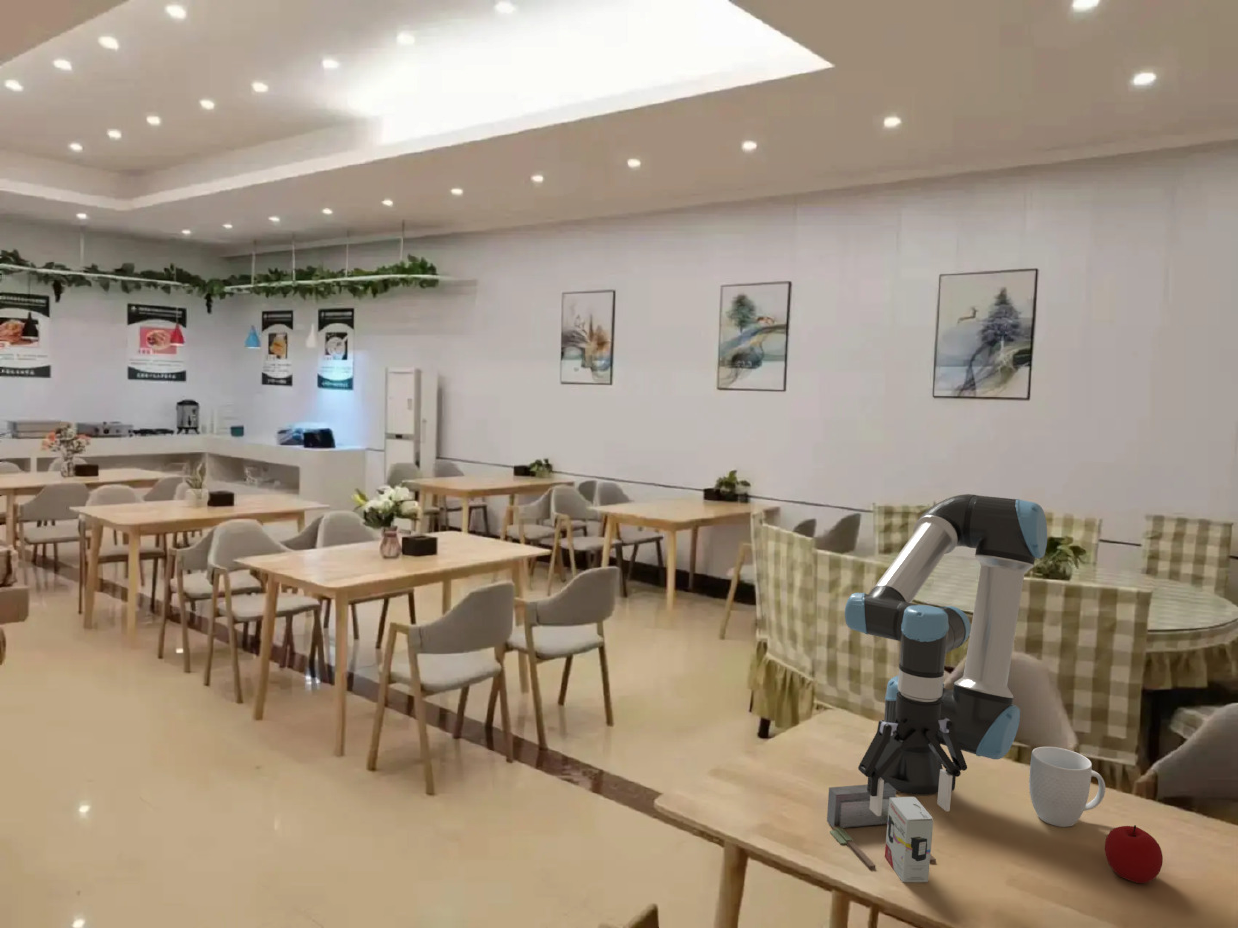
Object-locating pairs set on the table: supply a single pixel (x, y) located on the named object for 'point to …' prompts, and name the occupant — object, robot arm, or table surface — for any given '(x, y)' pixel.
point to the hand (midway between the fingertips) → (909, 810)
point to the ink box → (909, 839)
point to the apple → (1133, 854)
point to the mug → (1061, 785)
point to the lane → (846, 839)
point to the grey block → (856, 806)
